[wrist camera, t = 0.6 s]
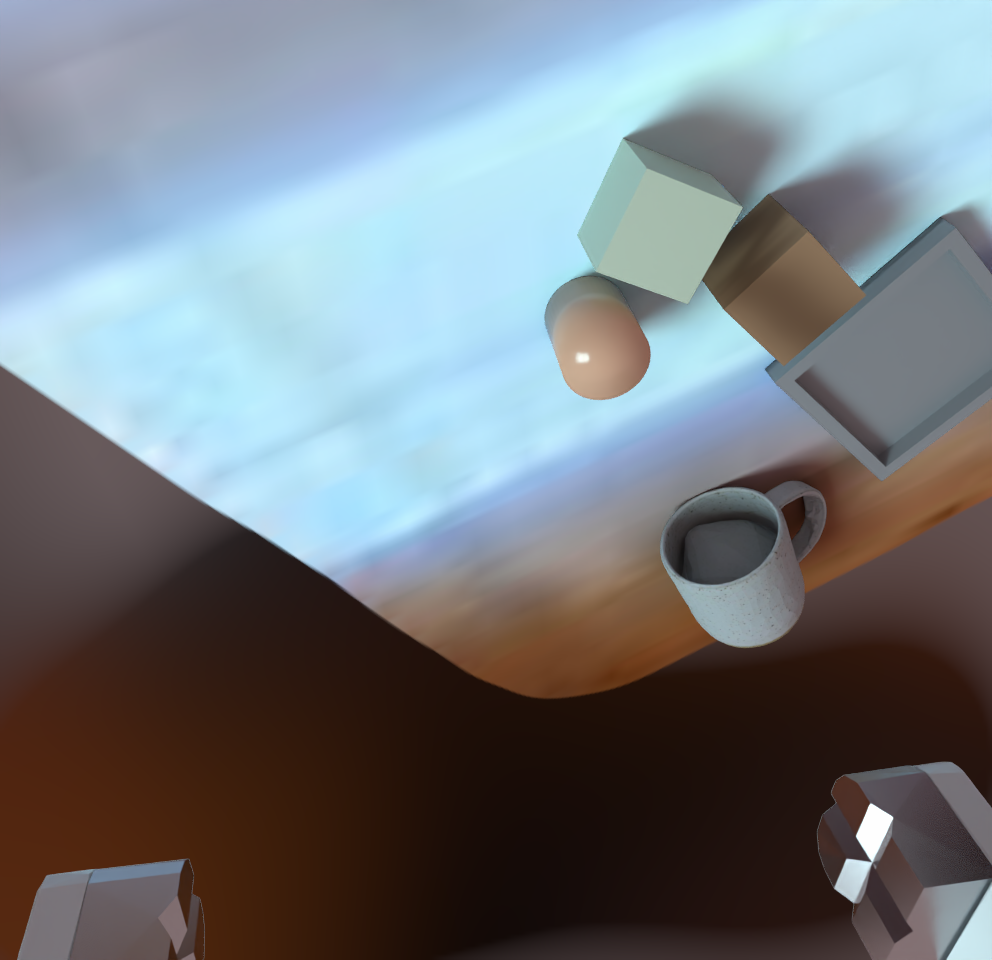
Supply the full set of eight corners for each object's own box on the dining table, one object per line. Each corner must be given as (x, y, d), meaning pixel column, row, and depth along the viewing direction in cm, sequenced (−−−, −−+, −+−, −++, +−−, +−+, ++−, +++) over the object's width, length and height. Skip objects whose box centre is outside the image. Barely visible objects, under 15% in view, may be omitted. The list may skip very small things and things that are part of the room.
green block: (622, 137, 40) (646, 168, 37) (711, 174, 42) (743, 207, 39) (576, 234, 43) (595, 271, 40) (662, 265, 45) (687, 304, 41)
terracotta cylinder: (586, 259, 44) (608, 303, 40) (642, 308, 46) (668, 355, 42) (527, 320, 46) (543, 368, 42) (584, 365, 48) (604, 414, 44)
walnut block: (767, 193, 43) (808, 231, 39) (822, 253, 45) (866, 295, 42) (692, 266, 45) (723, 309, 41) (748, 320, 47) (783, 366, 43)
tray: (940, 216, 45) (956, 227, 44) (1036, 340, 50) (1052, 352, 49) (764, 369, 49) (774, 382, 48) (870, 467, 55) (881, 481, 54)
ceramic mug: (686, 593, 60) (724, 679, 54) (643, 519, 55) (680, 604, 49) (829, 526, 58) (886, 608, 52) (798, 443, 53) (856, 523, 47)
